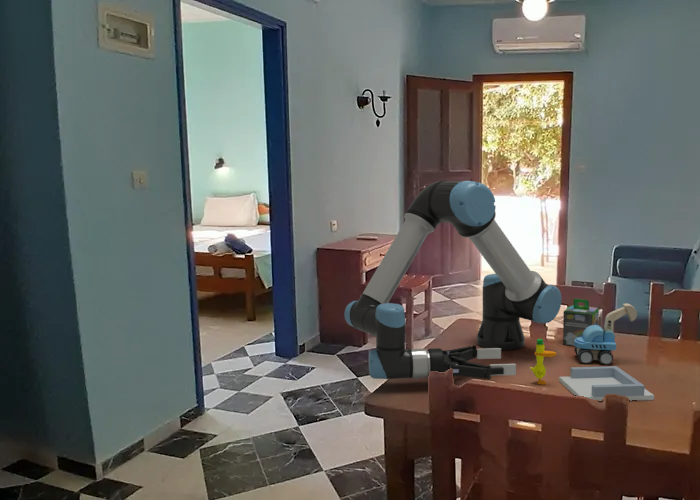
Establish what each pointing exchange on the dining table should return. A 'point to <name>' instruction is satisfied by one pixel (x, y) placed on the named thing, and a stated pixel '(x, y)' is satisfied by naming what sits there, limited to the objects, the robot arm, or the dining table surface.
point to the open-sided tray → (604, 383)
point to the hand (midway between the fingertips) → (507, 360)
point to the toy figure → (541, 361)
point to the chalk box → (578, 320)
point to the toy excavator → (601, 338)
